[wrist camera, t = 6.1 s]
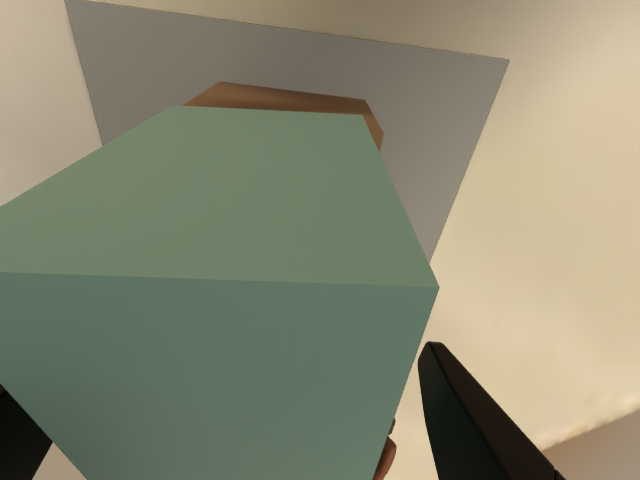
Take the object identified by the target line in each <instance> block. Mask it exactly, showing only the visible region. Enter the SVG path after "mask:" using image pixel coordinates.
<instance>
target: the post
mask: <svg viewBox="0 0 640 480" xmlns="http://www.w3.org/2000/svg"><path fill="white" fill-rule="evenodd" d="M182 106H197V107H217V108H237V109H257V110H276V111H296V112H316V113H336V114H356V115H363V117H364V120H365V122H366V124H367V126H368V128H369V131H370V133H371V135H372V137H373V140H374V142H375V144H376V146H377V149H378V151H379V153H380V149H381V144H382V140H383V136H384V132H383V131H382V129H381V127H380V125H379V124H378V122H377V120H376V118H375V117H374V115H373V113H372V111H371V109H370V108H369V106H368V104H367V102H366V101H365V100H363V99H355V98H348V97H340V96H332V95H324V94H316V93H308V92H300V91H292V90H284V89H276V88H269V87H261V86H253V85H245V84H237V83H229V82H221V81H220V82H218V83H217V84H215V85H213V86H212V87H210V88H209V89H207V90H206V91H204V92H202V93H201V94H199V95H198V96H196V97H195V98H193V99H191V100H190V101H188V102H187V103H185V104H184V105H182Z"/></svg>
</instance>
